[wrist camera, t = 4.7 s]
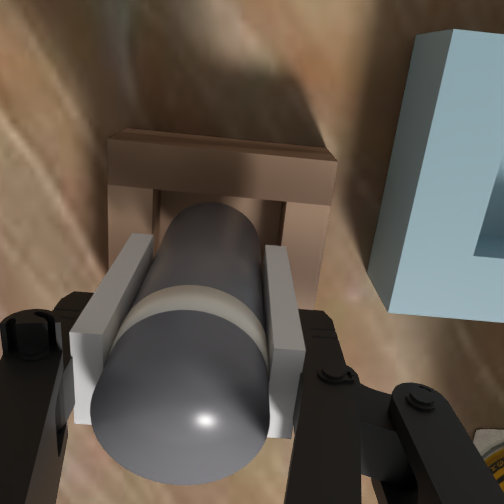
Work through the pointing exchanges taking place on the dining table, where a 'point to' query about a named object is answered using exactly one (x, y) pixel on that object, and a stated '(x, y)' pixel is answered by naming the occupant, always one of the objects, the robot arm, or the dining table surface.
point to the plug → (190, 356)
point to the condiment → (492, 451)
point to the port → (446, 184)
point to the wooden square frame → (224, 192)
